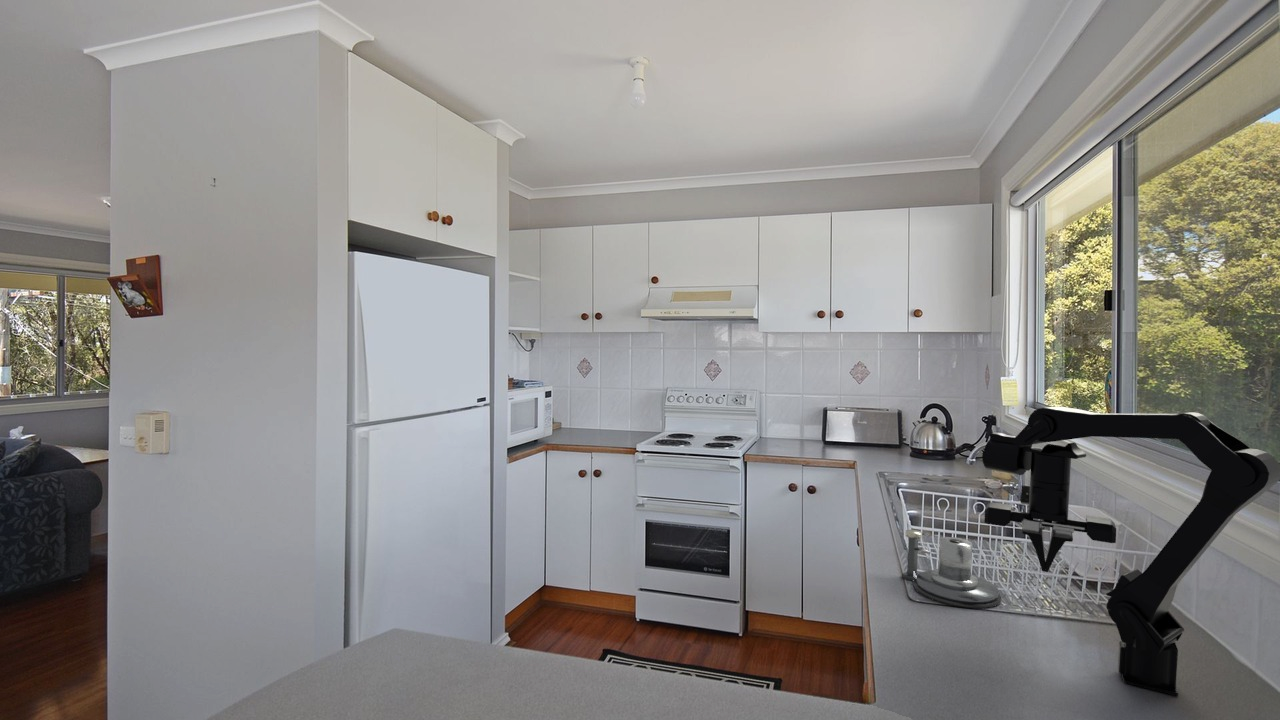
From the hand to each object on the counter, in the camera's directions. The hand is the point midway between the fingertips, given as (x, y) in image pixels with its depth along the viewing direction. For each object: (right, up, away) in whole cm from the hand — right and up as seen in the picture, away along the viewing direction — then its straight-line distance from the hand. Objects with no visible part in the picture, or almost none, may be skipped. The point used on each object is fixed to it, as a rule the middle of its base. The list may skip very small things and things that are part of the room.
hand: (1045, 571), depth 113 cm
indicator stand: (-10, -11, +28) cm, 31 cm away
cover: (-5, -9, +21) cm, 24 cm away
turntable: (-5, -11, +21) cm, 24 cm away
